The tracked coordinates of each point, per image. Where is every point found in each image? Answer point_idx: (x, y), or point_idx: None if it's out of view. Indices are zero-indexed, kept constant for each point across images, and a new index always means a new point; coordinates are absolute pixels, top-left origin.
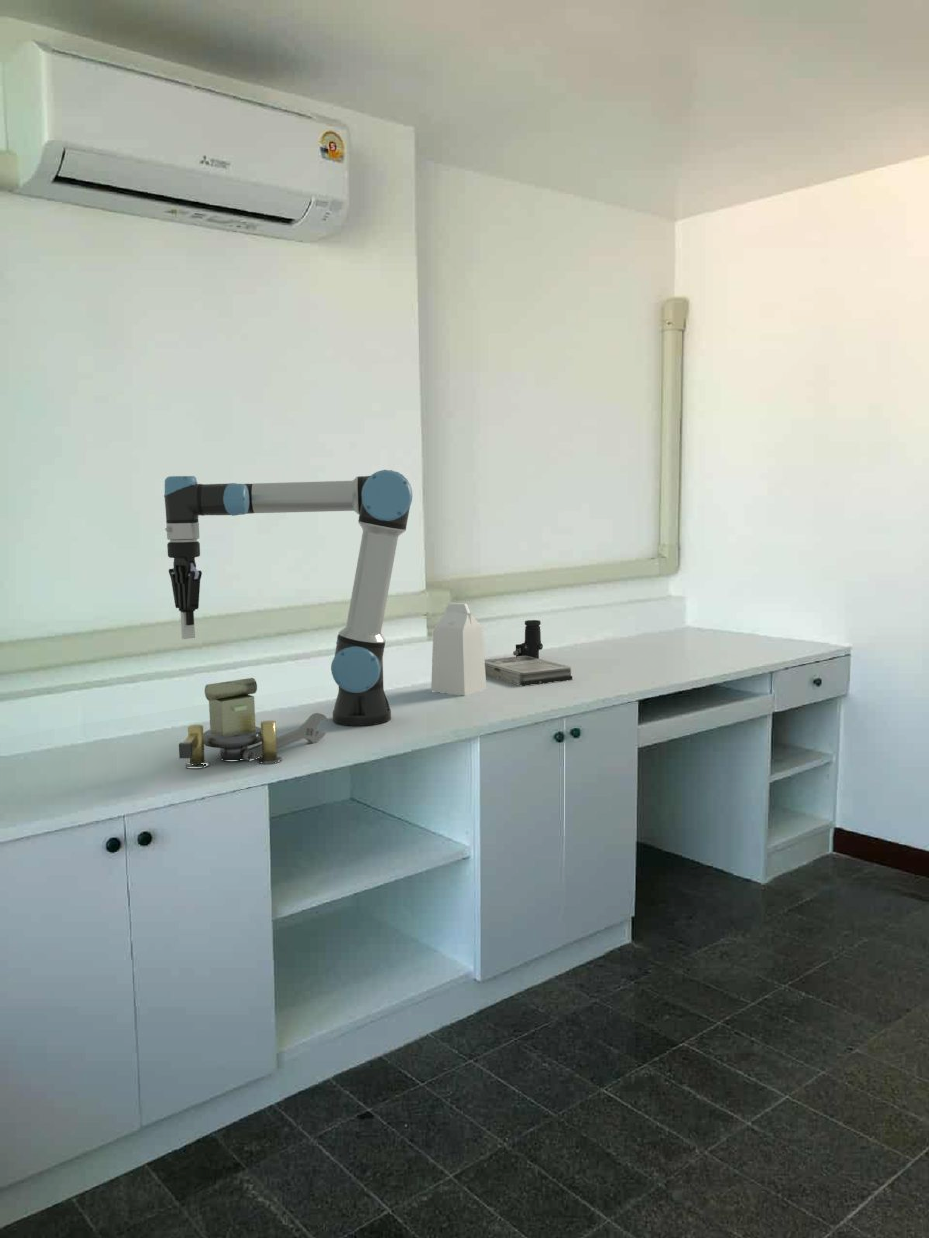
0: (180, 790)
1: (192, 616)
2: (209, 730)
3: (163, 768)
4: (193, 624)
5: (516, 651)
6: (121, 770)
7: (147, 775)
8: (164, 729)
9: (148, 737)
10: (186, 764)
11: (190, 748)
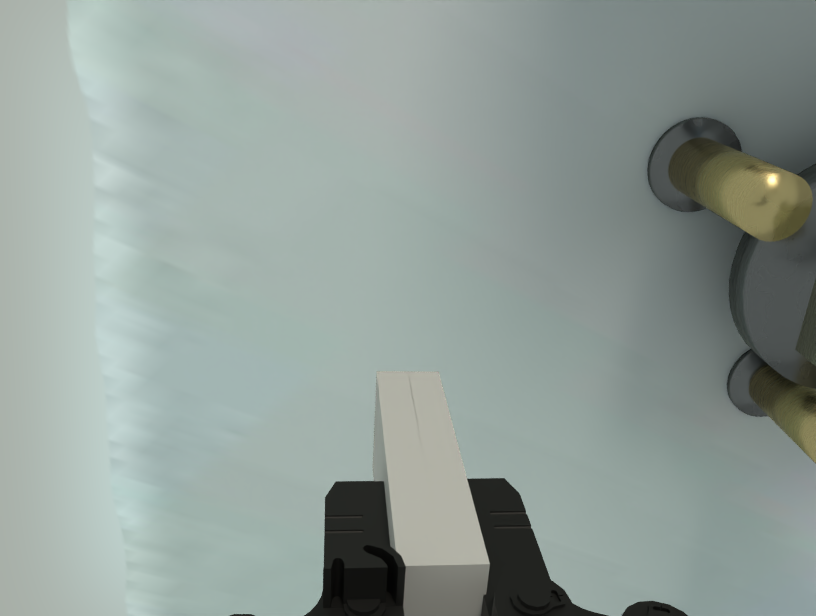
0: None
1: (534, 559)
2: (758, 333)
3: (695, 460)
4: (505, 482)
5: None
6: (606, 548)
7: (719, 519)
8: (138, 208)
9: (241, 321)
10: (743, 407)
11: None
